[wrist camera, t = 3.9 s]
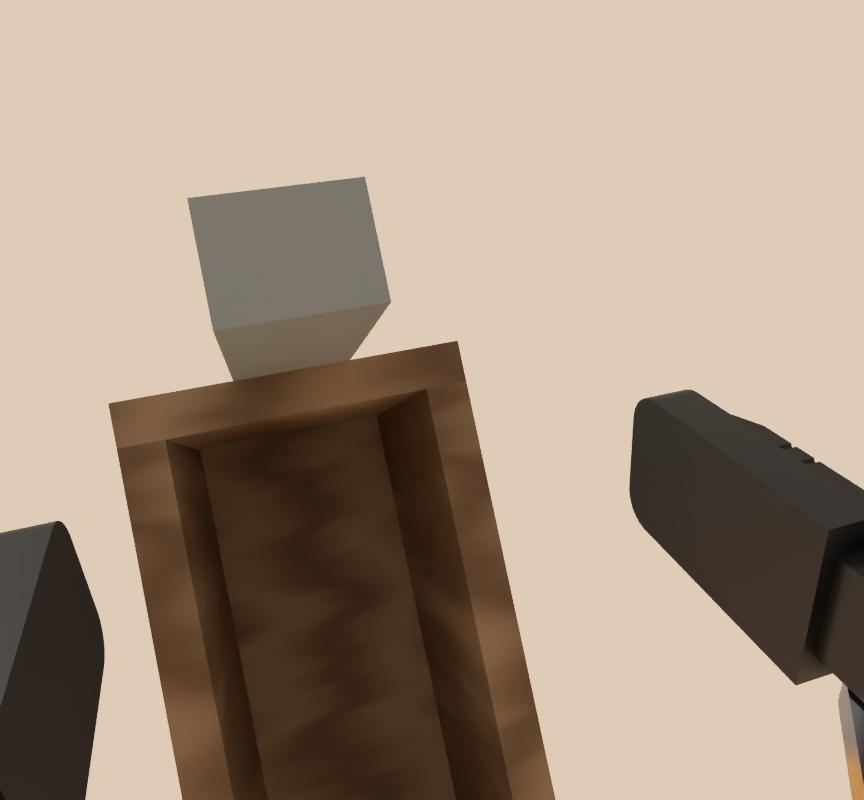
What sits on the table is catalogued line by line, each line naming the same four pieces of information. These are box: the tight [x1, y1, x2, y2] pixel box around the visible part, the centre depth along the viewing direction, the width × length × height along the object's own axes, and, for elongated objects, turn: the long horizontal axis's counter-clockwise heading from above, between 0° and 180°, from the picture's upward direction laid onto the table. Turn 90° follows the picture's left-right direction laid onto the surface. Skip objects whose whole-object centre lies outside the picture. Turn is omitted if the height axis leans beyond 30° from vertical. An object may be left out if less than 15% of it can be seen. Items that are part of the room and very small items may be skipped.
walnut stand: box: [109, 341, 555, 800], centre depth 31 cm, size 12×14×30 cm
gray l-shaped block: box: [188, 177, 391, 381], centre depth 27 cm, size 5×22×8 cm, turn 13°
